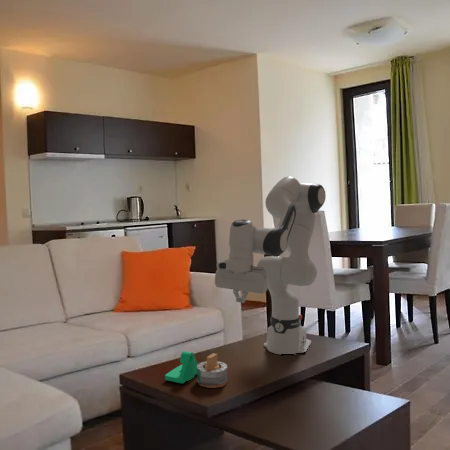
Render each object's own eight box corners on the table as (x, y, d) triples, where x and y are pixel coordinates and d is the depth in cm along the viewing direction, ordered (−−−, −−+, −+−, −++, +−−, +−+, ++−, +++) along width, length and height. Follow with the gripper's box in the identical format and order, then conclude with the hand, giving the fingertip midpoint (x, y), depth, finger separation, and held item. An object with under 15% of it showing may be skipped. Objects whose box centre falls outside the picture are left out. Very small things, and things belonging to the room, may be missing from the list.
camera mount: (181, 370, 205) (181, 344, 203) (199, 374, 201) (199, 347, 200) (164, 382, 194) (164, 354, 193) (182, 386, 190) (182, 358, 189)
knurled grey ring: (207, 374, 201) (207, 358, 200) (232, 380, 195) (232, 364, 195) (191, 384, 192) (191, 368, 191) (217, 391, 186) (217, 374, 186)
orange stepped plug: (209, 368, 197) (209, 351, 196) (222, 370, 194) (222, 354, 193) (201, 372, 192) (202, 356, 191) (214, 375, 190) (214, 359, 189)
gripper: (270, 266, 195) (270, 304, 196) (221, 260, 205) (221, 296, 206) (263, 269, 189) (262, 308, 191) (212, 263, 199) (212, 300, 201)
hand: (240, 302), depth 199 cm, fingers closed
